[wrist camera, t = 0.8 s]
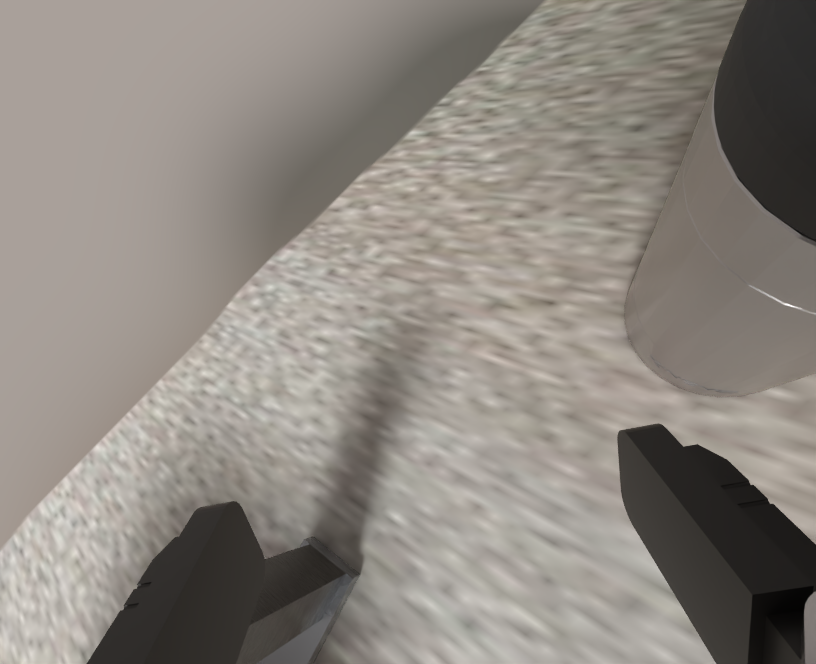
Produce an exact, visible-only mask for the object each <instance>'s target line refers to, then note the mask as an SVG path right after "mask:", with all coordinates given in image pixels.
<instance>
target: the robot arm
mask: <svg viewBox="0 0 816 664" xmlns="http://www.w3.org/2000/svg"><path fill="white" fill-rule="evenodd" d="M625 326H626V330H627V334H628V338H629V340H630V342H631V344H632V346H633V348H634V350H635V352H636V353H637V355H638V356H639V357H640V358H641V359H642V361H643V362H644V363H645V364H646V366H647V367H649V368H650V369H651V370H652V371H653V372H655V373H656V374H657V375H658V376H659V377H661V378H662V379H664V380H666V381H668V382H669V383H671V384H673V385H675V386H677V387H679V388H681V389H684V390H687V391H690V392H693V393H696V394H701V395H708V396H715V397H735V396H743V395H748V394H752V393H757V392H761V391H764V390H766V389H769V388H772V387H775V386H778V385H781V384H784V383H787V382H790V381H794V380H797V379H800V378H803V377H806V376H809V375H812V374H815V373H816V0H747V2H746V4H745V6H744V8H743V11H742V13H741V15H740V17H739V20H738V22H737V25H736V27H735V30H734V32H733V35H732V37H731V40H730V42H729V45H728V47H727V50H726V52H725V55H724V57H723V60H722V63H721V65H720V68H719V71H718V73H717V76H716V78H715V81H714V83H713V86H712V88H711V90H710V93H709V95H708V98H707V100H706V103H705V105H704V108H703V110H702V113H701V115H700V118H699V120H698V122H697V125H696V127H695V130H694V133H693V135H692V138H691V141H690V143H689V146H688V148H687V151H686V153H685V156H684V158H683V160H682V163H681V165H680V168H679V170H678V173H677V175H676V178H675V180H674V182H673V185H672V187H671V190H670V192H669V195H668V197H667V199H666V202H665V204H664V207H663V209H662V212H661V214H660V217H659V219H658V221H657V224H656V226H655V229H654V231H653V234H652V236H651V238H650V241H649V243H648V246H647V248H646V251H645V253H644V255H643V258H642V260H641V262H640V265H639V267H638V269H637V272H636V274H635V277H634V279H633V282H632V284H631V287H630V289H629V291H628V295H627V299H626V303H625ZM618 454H619V468H620V482H621V493H622V498H623V502H624V506H625V509H626V512H627V514H628V516H629V519H630V521H631V523H632V525H633V526H634V528H635V530H636V531H637V533H638V535H639V536H640V538H641V540H642V541H643V543H644V545H645V546H646V548H647V549H648V551H649V553H650V554H651V556H652V558H653V559H654V561H655V563H656V564H657V566H658V568H659V569H660V571H661V573H662V574H663V576H664V578H665V579H666V581H667V583H668V584H669V586H670V588H671V589H672V591H673V593H674V594H675V596H676V598H677V599H678V601H679V603H680V604H681V606H682V607H683V609H684V611H685V612H686V614H687V616H688V617H689V619H690V621H691V622H692V624H693V626H694V627H695V629H696V631H697V632H698V634H699V636H700V637H701V639H702V641H703V642H704V644H705V646H706V647H707V649H708V651H709V652H710V654H711V656H712V657H713V659H714V660H715V662H716V664H816V545H815V544H814V543H813V542H812V541H811V540H810V539H809V538H808V537H807V536H806V535H805V534H804V533H803V532H802V531H801V530H800V529H799V528H798V527H797V526H796V525H795V524H794V523H793V522H791V521H790V520H789V519H788V518H787V517H786V516H785V515H784V514H783V513H782V512H781V511H780V510H779V509H778V508H777V507H776V506H775V505H774V504H770V503H769V501H768V499H767V498H766V497H765V496H764V495H763V494H762V493H761V492H760V491H759V490H758V489H757V488H756V487H755V486H754V485H750V483H749V480H748V479H747V478H746V477H745V476H743V475H742V474H741V473H740V472H739V471H738V470H737V469H736V468H735V467H734V466H733V465H732V464H731V463H730V462H729V461H728V460H727V459H725V458H723V457H721V456H719V455H717V454H715V453H713V452H711V451H709V450H707V449H705V448H703V447H702V446H700V445H698V444H697V445H691V446H686V447H683V446H682V445H681V444H680V443H679V442H678V441H677V439H676V438H675V437H674V436H673V435H672V434H671V433H670V432H669V431H668V430H667V429H666V428H665V427H664V426H663V425H661V424H653V425H647V426H642V427H637V428H631V429H626V430H620V431H619V433H618ZM264 578H265V560H264V556H263V552H262V550H261V548H260V546H259V544H258V541H257V539H256V537H255V535H254V533H253V531H252V528H251V526H250V524H249V522H248V520H247V518H246V515H245V513H244V511H243V509H242V507H241V506H240V504H239V503H237V502H235V501H232V502H227V503H221V504H216V505H210V506H205V507H200V508H198V509H197V510H196V511H195V512H194V513H193V515H192V517H191V518H190V520H189V522H188V523H187V525H186V526H185V528H184V530H183V531H182V533H181V535H180V536H179V537H175V538H174V539H173V540H172V541H171V542H170V543H169V544H168V545H167V546H166V547H165V548H164V549H163V550H162V551H161V552H160V553H159V554H158V555H157V556H156V557H155V558H154V559H153V560H152V562H151V564H150V565H149V567H148V568H147V570H146V571H145V573H144V575H143V576H142V578H141V579H140V581H139V582H138V584H137V585H138V587H137V589H134V590H133V592H132V593H131V595H130V597H129V598H128V600H127V601H126V603H125V604H124V610H123V611H120V612H119V614H118V615H117V617H116V619H115V620H114V622H113V623H112V625H111V626H110V628H109V630H108V631H107V633H106V634H105V636H104V637H103V639H102V641H101V642H100V644H99V645H98V647H97V648H96V650H95V652H94V653H93V655H92V656H91V658H90V659H89V661H88V663H87V664H236V663H237V660H238V657H239V654H240V651H241V648H242V645H243V642H244V639H245V636H246V633H247V630H248V628H249V625H250V622H251V619H252V616H253V613H254V610H255V607H256V604H257V601H258V598H259V595H260V593H261V590H262V587H263V583H264Z"/></svg>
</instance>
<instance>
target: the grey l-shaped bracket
mask: <svg viewBox="0 0 816 664" xmlns="http://www.w3.org/2000/svg"><path fill="white" fill-rule="evenodd" d="M359 576H360V574H359V573H358V572H356V571H355V570H354V569H353V568H351V567H350V566H349V565H348V564H346V563H345V562H344V561H343V560H341V559H340V558H339V557H338V556H336V555H335V554H334V553H333V552H331V551H330V550H329V549H328V548H326V547H325V546H324V545H323V544H321V543H320V542H319V541H318V540H316V539H315V538H314V537H311V538H307V539H304V541H303V543H302V544H301V546H300V548H297V549H294V550H291V551H288V552H285V553H282V554H280V555H277V556H274V557H271V558H268V559H265V578H264V583H263V587H262V590H261V593H260V595H259V598H258V601H257V604H256V607H255V610H254V613H253V616H252V619H251V622H250V625H249V628H248V630H247V633H246V636H245V639H244V642H243V645H242V648H241V651H240V654H239V657H238V660H237V663H236V664H313V662H314V661H315V659H316V657H317V655H318V653H319V651H320V649H321V647H322V645H323V644H324V642H325V640H326V638H327V636H328V634H329V632H330V630H331V629H332V627H333V625H334V623H335V621H336V619H337V617H338V615H339V613H340V612H341V610H342V608H343V606H344V604H345V602H346V600H347V598H348V596H349V595H350V593H351V591H352V589H353V587H354V585H355V583H356V581H357V580H358V578H359Z"/></svg>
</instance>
